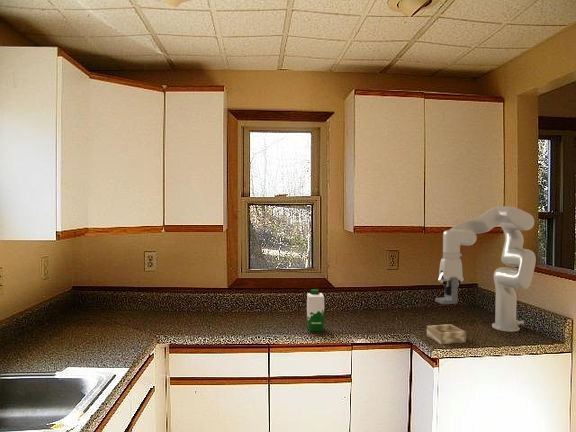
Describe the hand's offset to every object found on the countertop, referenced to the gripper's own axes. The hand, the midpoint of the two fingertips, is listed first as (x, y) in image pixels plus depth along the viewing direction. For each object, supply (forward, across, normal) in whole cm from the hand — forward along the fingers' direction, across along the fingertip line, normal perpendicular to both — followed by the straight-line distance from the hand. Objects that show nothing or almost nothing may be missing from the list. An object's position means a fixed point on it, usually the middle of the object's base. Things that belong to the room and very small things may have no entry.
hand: (450, 294), depth 191 cm
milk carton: (+22, +59, -28) cm, 69 cm away
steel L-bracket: (+4, +2, 0) cm, 5 cm away
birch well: (+22, +2, 0) cm, 22 cm away
